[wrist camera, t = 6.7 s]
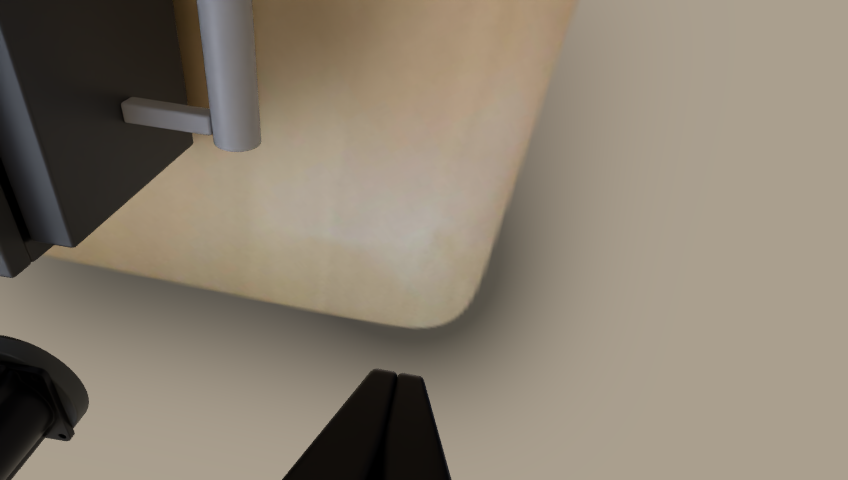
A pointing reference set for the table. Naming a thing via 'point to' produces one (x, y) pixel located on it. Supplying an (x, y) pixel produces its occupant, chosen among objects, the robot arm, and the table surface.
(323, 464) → the robot arm
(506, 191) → the table surface
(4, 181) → the drawer
